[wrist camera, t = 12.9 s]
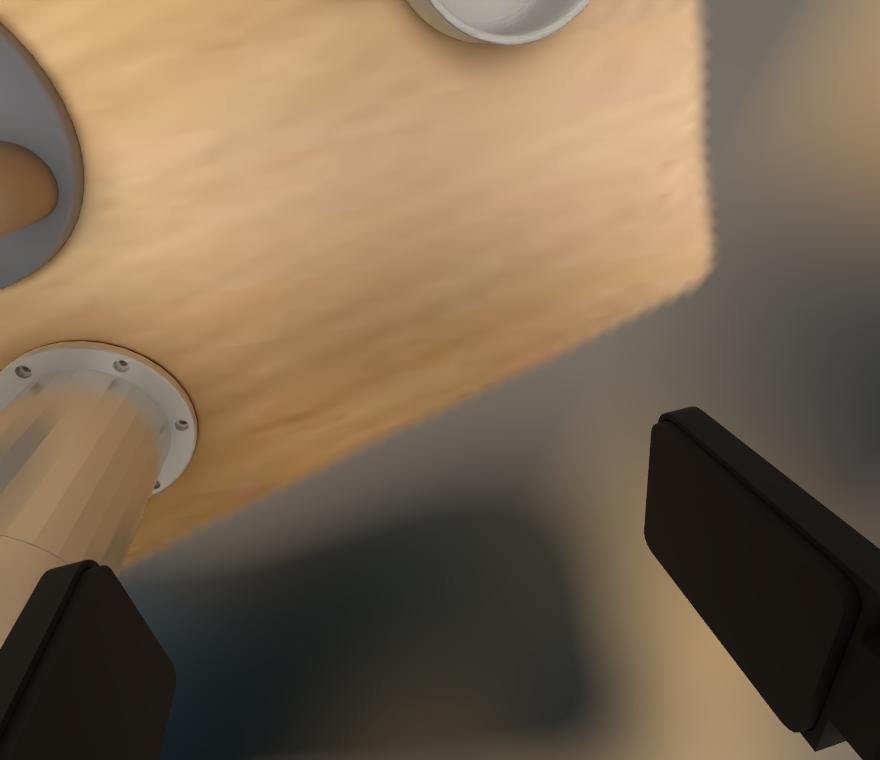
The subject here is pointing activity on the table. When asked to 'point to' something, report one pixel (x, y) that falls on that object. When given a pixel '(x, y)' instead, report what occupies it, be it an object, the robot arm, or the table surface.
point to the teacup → (498, 18)
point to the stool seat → (34, 165)
